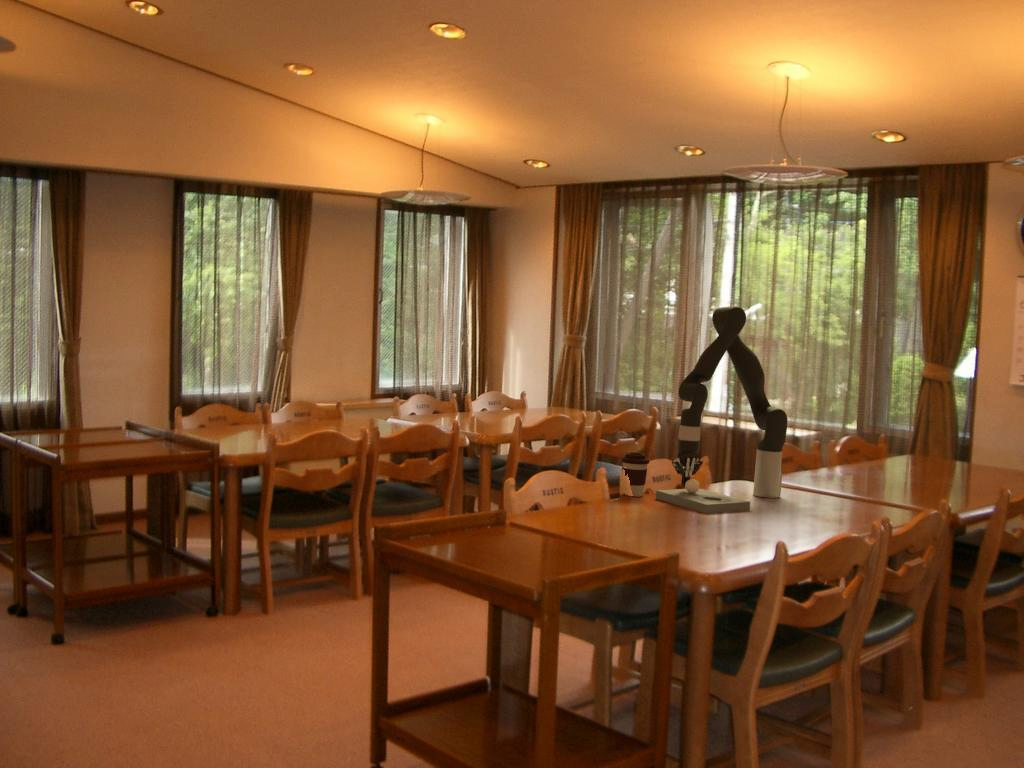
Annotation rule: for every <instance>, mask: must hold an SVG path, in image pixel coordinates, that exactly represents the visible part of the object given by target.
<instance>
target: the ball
mask: <svg viewBox="0 0 1024 768" xmlns="http://www.w3.org/2000/svg"><path fill="white" fill-rule="evenodd" d="M699 488H700V483H699V481H698V480H697V479H694V478H690V480H688V481H687V482H686V484H685V487H684V489H686V490H687V491H688V492H689V493H696V492H697V491H698V490H699Z"/></svg>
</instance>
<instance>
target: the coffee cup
mask: <svg viewBox="0 0 1024 768" xmlns="http://www.w3.org/2000/svg"><path fill="white" fill-rule="evenodd" d="M620 459H621V460H620V461H621V462H622V467H621V468H622V469H621V471H622V470H623V469H624V470H625V476H626V475H627V474H628V477H629V480H630V487H631V490H632V494H633V496H635V498H640V497H642V496H644V491H645V485H646V482H647V473H648V465H649V464H650V459H649V458H648V457H647V456H646V454H645V453H642V452H626V453H625V455H624V456H621V458H620ZM624 467H626V468H624Z"/></svg>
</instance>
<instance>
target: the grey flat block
mask: <svg viewBox="0 0 1024 768" xmlns="http://www.w3.org/2000/svg"><path fill="white" fill-rule="evenodd" d="M655 491H656V492H655V500H658V501H662V502H666V503H668V504H671V505H675V506H679V507H683V508H685V509H686V508H687V509H689V510H693V511H696V512H700V513H703V514H716V513H717V514H719V513H730V512H731V513H732V512H734V513H735V512H747V511H750V509H751V501H748V500H745V499H742V498H737V497H735V496H734V497H733V496H730V495H726V494H724V493H723V494H722V493H719V492H715V491H711V490H707V489H703V488H700V487H699V490H698V491H697V492H696V493H689V492H688V491H687V490H686V488H680V489H679V488H678V489H677V488H676V489H658V490H655Z"/></svg>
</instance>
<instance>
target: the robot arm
mask: <svg viewBox="0 0 1024 768" xmlns="http://www.w3.org/2000/svg"><path fill="white" fill-rule="evenodd" d="M711 320H712V325H713V327H714V330H715V332H716V333H717V337H715V339H714V340H713V341H712V342H711V343H710V344H709V345H708V346H707V347H706V348H705V349H704V350H703V352H702V353H701V355H700V356H699V358H698V360H697V362H696V364H695V366H694V368H693V369H692V370H691V371H690V372H689V373H688V374H687V376H686V377H685V378H684V379H683V380H682V381H681V382H680V385H679V387H678V390H677V391H678V397H679V399H680V400H681V401H684V402H688V403H689V402H690V406H689V408H684V409H682V410H681V412H680V413H681V414H680V425H679V431H678V441H677V451H678V454H677V456H676V457H677V458H676V459H675V460H671V465H672V466H673V468H674V469H675V471H676V473H677V475H680V476H681V482H680V484H681V486H682V487H683V488H685V484H686V482H687V481H688V480H690V479H692V476H694V475H696V473H697V472H698V471H699V470H700V468H701V467H702V465H703V464H704V463H703V462H704V461H703V460H700V459H699V454H698V453H699V451H700V444H701V443H700V442H701V423H702V414H703V412H704V409H705V406H706V403H707V401H708V396H709V394H708V393H709V391H708V388H707V386H706V385H705V384H703V383H705V382H706V383H707V382H709V381H710V380H711V379H712V378H713V376H714V373H715V372H716V370H717V368H718V366H719V364H720V362H721V360H722V359H723V357H724V355H725V354H726V352H727V354H728V357H729V358H730V360H731V363H732V366H733V367H734V370H735V373H736V375H737V378H738V380H739V382H740V384H741V386H742V388H743V391H744V393H745V396H746V397H747V401H748V402H749V406H750V409H751V412H752V417H753V420H754V422H755V425H756V426H757V427H758V429H760V430H761V431H764V437H763V439H761V440H758V441H757V443H756V444H757V445H756V455H755V468H754V479H753V480H754V482H753V492H752V495H753V496H755V497H760V498H766V499H767V498H769V499H777V498H780V497H781V495H782V482H783V481H782V480H783V471H782V469H781V467H782V458H783V448H784V446H785V444H786V440H787V439H786V438H787V430H788V423H789V421H788V415H787V413H786V412H785V410H783V409H782V408H778V407H773V406H772V405H771V404H770V402H769V399H768V398H767V396H766V392H765V381H766V380H765V379H766V377H765V372H764V369H763V366H762V364H761V363H760V359H759V358H758V356H757V355H756V353H755V352H754V351H752V349H751V348H750V347H749V346H748V345H747V344H746V343H745V342H744V341H743V340H742V339H741V337H740V335H739V334H740V333H741V331H742V330H743V329H744V327H745V325H746V322H747V313H746V311H745V310H744V309H743V308H742V307H741V306H735V305H731V306H722V307H718V308H716V309H714V311H713V313H712V318H711Z"/></svg>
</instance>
